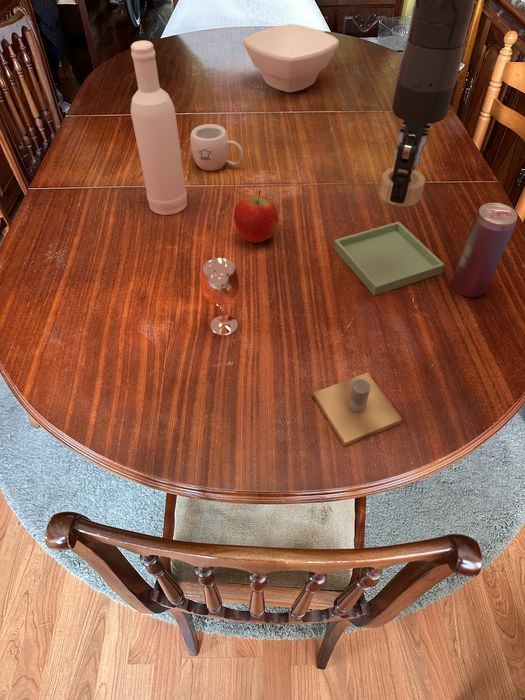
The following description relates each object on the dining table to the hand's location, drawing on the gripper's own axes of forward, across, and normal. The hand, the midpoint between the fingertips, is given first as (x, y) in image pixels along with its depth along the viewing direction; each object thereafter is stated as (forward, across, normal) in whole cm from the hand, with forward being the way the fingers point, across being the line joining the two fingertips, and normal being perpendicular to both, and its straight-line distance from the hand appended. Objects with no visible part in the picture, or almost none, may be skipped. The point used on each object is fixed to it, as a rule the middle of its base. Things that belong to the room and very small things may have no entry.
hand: (401, 189), depth 80 cm
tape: (+1, 0, 0) cm, 1 cm away
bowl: (+16, +69, +41) cm, 82 cm away
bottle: (+16, +4, +46) cm, 49 cm away
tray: (+16, +2, 0) cm, 16 cm away
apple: (+16, 0, +25) cm, 29 cm away
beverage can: (+16, 0, -15) cm, 22 cm away
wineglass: (+16, -24, +21) cm, 35 cm away
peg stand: (+16, -32, -3) cm, 36 cm away
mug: (+16, +22, +42) cm, 50 cm away
